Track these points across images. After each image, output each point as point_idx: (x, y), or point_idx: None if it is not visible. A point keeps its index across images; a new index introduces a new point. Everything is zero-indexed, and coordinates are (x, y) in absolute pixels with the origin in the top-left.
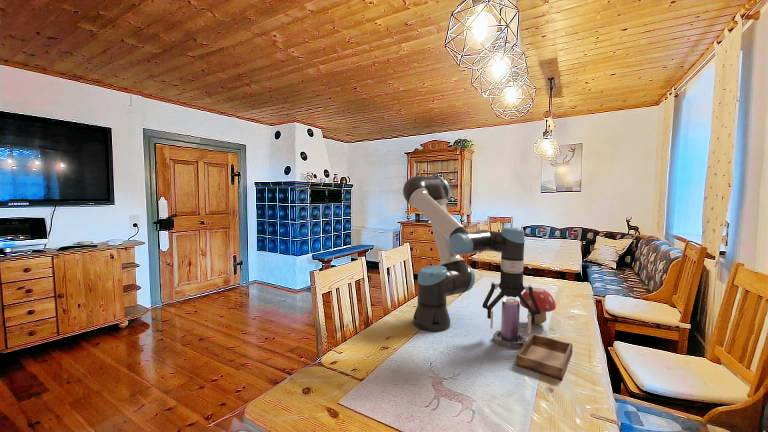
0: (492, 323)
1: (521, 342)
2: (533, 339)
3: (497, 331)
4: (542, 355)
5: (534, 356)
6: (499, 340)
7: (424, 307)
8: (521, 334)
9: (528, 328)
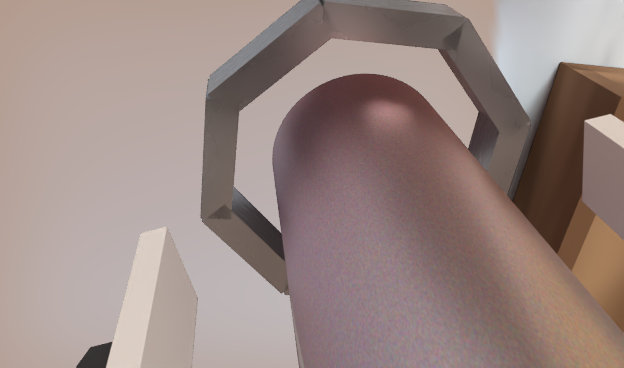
0: (190, 348)
1: None
2: None
3: (216, 116)
4: (611, 290)
5: None
6: (287, 291)
7: None
8: (483, 46)
9: (615, 224)
